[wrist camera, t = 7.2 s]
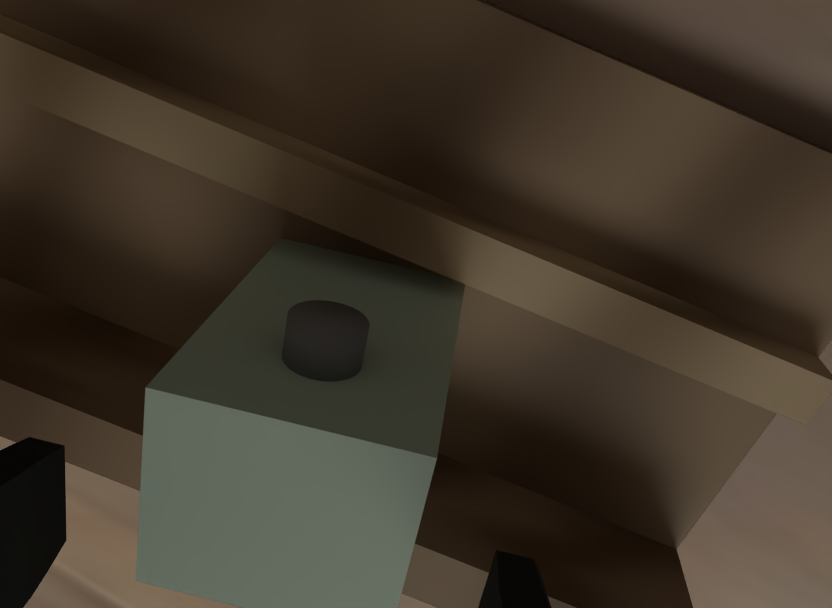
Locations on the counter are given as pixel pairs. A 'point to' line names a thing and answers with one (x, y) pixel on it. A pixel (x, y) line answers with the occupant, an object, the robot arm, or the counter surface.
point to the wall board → (422, 254)
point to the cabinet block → (299, 434)
